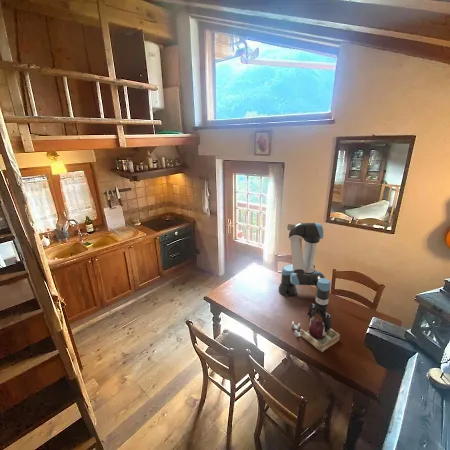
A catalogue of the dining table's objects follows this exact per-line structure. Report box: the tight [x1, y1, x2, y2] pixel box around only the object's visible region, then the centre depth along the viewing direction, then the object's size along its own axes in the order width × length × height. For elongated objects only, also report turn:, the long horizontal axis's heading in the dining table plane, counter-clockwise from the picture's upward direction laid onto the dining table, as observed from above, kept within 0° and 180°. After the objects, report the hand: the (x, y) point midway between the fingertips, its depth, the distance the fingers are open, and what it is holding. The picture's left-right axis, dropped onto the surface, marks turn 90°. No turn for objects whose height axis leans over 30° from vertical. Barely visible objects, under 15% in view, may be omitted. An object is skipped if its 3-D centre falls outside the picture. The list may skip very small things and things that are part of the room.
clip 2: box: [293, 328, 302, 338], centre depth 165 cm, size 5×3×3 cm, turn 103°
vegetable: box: [308, 318, 325, 339], centre depth 161 cm, size 10×10×15 cm
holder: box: [299, 322, 341, 353], centre depth 163 cm, size 17×17×4 cm
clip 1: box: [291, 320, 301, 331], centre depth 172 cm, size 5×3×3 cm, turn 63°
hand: (317, 330), depth 164 cm, fingers closed on vegetable, 9 cm apart
